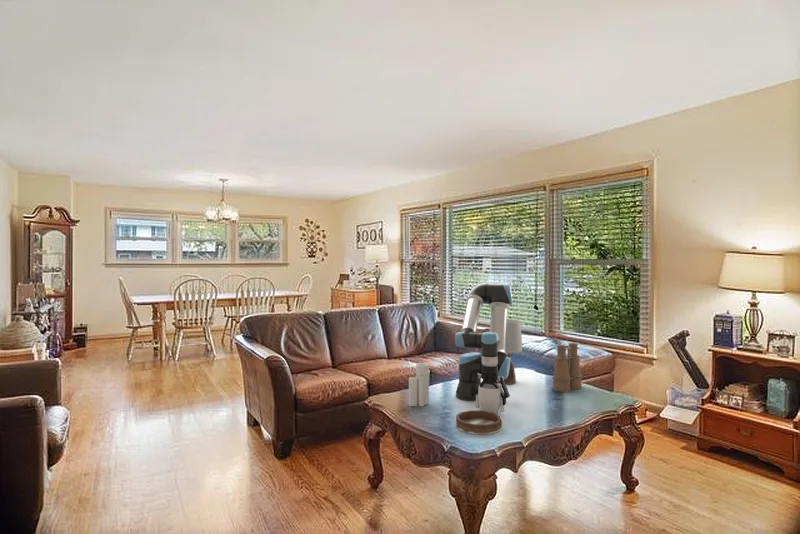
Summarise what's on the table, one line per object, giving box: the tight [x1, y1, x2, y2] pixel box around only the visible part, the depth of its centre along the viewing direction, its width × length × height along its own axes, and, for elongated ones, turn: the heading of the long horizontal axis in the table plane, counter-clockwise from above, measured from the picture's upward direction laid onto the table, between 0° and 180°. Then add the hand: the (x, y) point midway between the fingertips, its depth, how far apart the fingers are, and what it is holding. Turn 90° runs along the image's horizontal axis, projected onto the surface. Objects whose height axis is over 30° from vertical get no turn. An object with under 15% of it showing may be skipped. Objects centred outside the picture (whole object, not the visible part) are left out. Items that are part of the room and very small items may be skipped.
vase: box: [408, 362, 430, 407], centre depth 240 cm, size 11×7×20 cm, turn 135°
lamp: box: [497, 318, 523, 385], centre depth 282 cm, size 19×19×37 cm
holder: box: [455, 410, 503, 435], centre depth 209 cm, size 20×20×4 cm
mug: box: [478, 383, 503, 415], centre depth 228 cm, size 15×11×13 cm
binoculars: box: [551, 342, 583, 393], centre depth 269 cm, size 21×10×25 cm, turn 125°
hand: (489, 409), depth 227 cm, fingers open, 12 cm apart
